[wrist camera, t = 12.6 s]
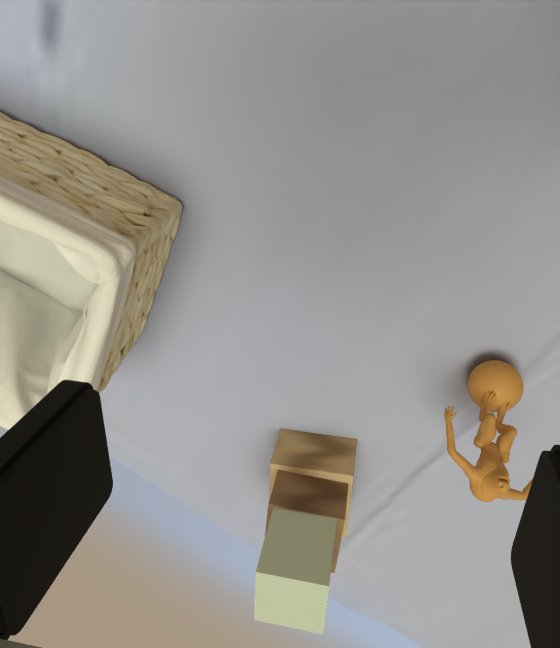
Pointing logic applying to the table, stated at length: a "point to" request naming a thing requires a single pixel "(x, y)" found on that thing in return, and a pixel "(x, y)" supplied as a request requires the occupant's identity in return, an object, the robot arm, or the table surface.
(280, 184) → the table surface
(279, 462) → the oak block
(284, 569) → the sage block
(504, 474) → the figurine
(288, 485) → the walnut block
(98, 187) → the storage basket
